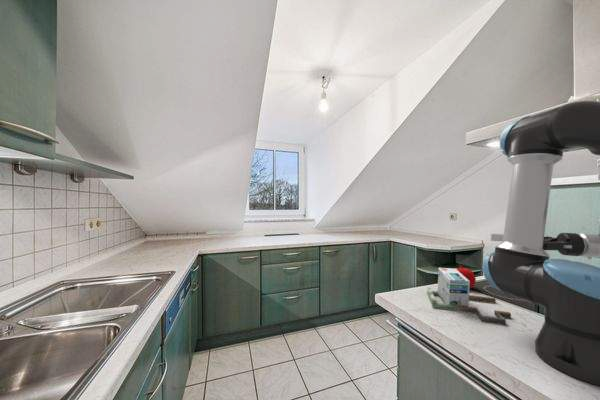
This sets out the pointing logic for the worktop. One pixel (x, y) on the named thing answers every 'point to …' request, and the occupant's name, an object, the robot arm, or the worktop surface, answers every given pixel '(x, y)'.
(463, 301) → the light bulb box
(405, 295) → the worktop surface
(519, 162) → the robot arm
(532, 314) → the worktop surface
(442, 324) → the worktop surface
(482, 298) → the trap lane
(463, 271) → the fruit
